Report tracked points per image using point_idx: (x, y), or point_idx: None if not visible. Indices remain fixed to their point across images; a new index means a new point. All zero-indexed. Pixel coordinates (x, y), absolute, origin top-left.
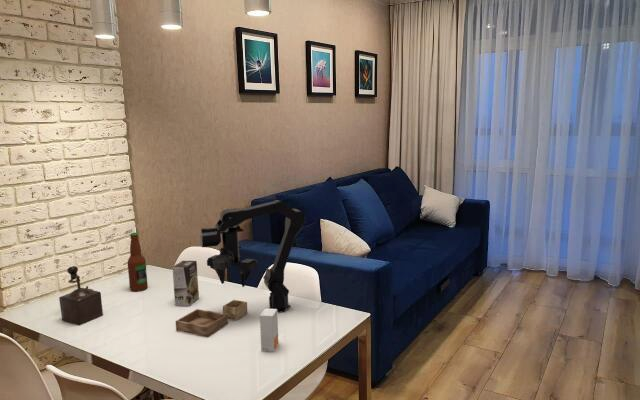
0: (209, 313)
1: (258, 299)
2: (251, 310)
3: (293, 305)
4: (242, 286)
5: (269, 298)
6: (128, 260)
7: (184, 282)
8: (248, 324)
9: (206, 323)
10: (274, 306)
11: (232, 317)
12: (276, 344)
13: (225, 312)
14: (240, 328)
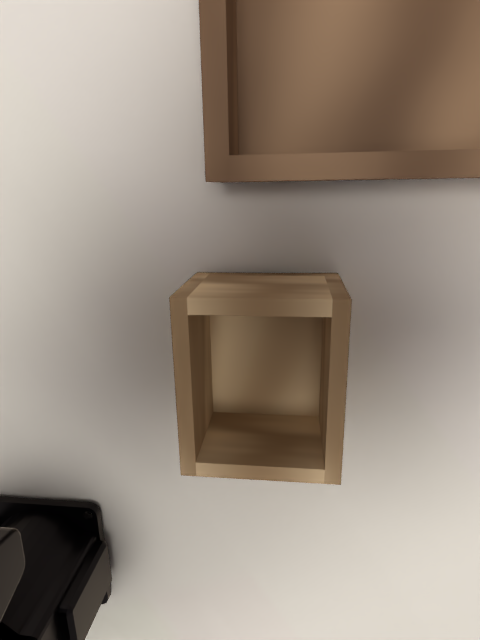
0: (438, 151)
1: (276, 634)
2: None
3: None
4: (2, 530)
5: (72, 595)
6: None
7: None
8: (65, 241)
9: (395, 52)
10: (34, 528)
11: (238, 276)
12: None
13: (313, 284)
14: (70, 146)
